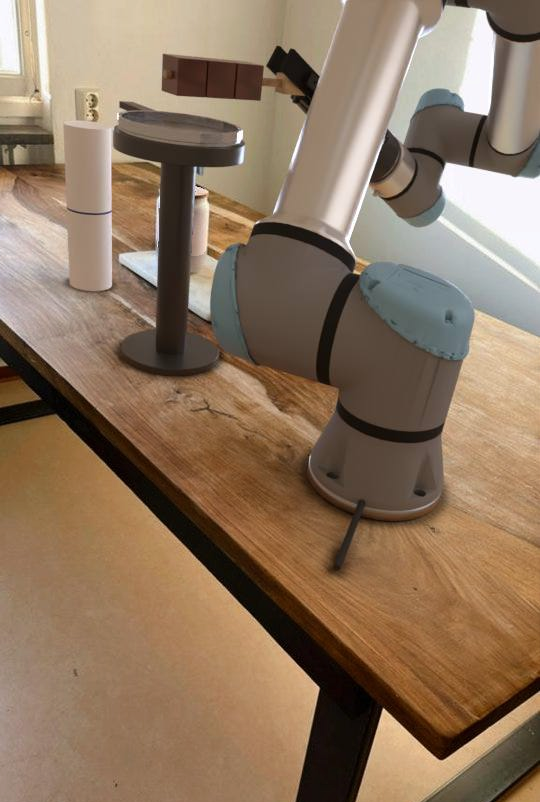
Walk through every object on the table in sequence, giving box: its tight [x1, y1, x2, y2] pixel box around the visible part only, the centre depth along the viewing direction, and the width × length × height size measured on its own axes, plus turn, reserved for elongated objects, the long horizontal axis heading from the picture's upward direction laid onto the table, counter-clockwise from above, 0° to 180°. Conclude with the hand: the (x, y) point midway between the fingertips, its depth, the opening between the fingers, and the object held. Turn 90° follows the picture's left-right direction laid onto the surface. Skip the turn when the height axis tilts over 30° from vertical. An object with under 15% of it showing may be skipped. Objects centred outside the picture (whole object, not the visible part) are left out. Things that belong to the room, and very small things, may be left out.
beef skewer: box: [161, 53, 305, 102], centre depth 86 cm, size 25×4×4 cm, turn 125°
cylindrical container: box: [62, 119, 113, 292], centre depth 113 cm, size 7×7×25 cm
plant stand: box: [112, 100, 246, 377], centre depth 94 cm, size 16×23×30 cm
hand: (280, 57), depth 86 cm, fingers closed on beef skewer, 2 cm apart
